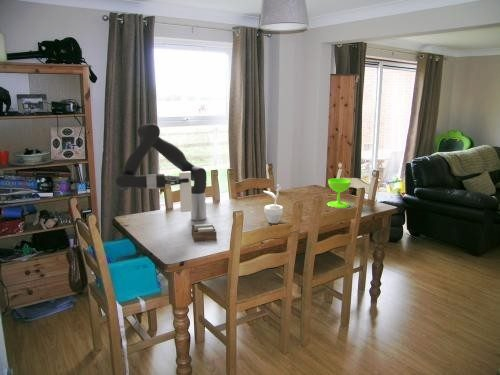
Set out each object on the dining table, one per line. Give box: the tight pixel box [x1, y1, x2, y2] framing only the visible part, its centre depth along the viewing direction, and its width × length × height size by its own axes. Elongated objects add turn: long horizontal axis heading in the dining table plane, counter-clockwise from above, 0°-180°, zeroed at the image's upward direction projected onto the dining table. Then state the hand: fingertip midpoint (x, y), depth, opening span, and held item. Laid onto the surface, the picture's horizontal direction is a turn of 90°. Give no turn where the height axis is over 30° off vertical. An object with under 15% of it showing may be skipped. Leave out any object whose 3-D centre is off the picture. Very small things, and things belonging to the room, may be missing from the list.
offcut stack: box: [193, 223, 214, 232], centre depth 212 cm, size 7×10×5 cm, turn 104°
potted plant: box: [263, 183, 284, 224], centre depth 238 cm, size 13×12×25 cm
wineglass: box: [326, 177, 352, 209], centre depth 276 cm, size 16×16×18 cm
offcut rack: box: [191, 224, 217, 243], centre depth 215 cm, size 14×12×5 cm
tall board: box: [178, 171, 192, 213], centre depth 211 cm, size 2×6×22 cm, turn 103°
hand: (188, 179), depth 210 cm, fingers closed on tall board, 2 cm apart
